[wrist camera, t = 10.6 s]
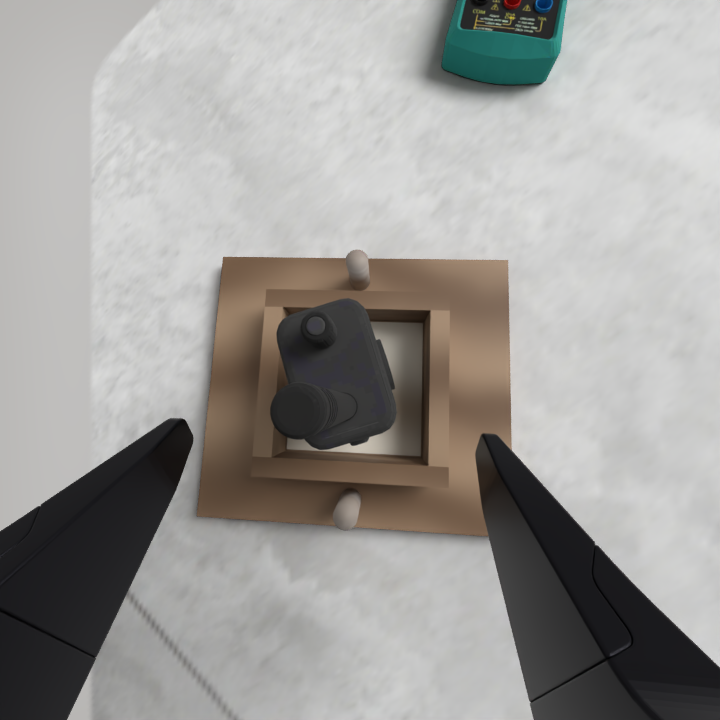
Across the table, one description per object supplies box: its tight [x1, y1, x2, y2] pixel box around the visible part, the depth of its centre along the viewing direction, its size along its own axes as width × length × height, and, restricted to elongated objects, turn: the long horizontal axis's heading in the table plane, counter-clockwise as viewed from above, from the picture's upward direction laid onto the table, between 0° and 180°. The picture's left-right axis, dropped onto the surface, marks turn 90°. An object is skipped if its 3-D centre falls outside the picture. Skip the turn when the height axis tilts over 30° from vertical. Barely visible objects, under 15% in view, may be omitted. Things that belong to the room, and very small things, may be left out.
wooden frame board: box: [197, 250, 512, 536], centre depth 18 cm, size 16×18×4 cm
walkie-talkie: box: [270, 298, 397, 450], centre depth 12 cm, size 5×3×15 cm
